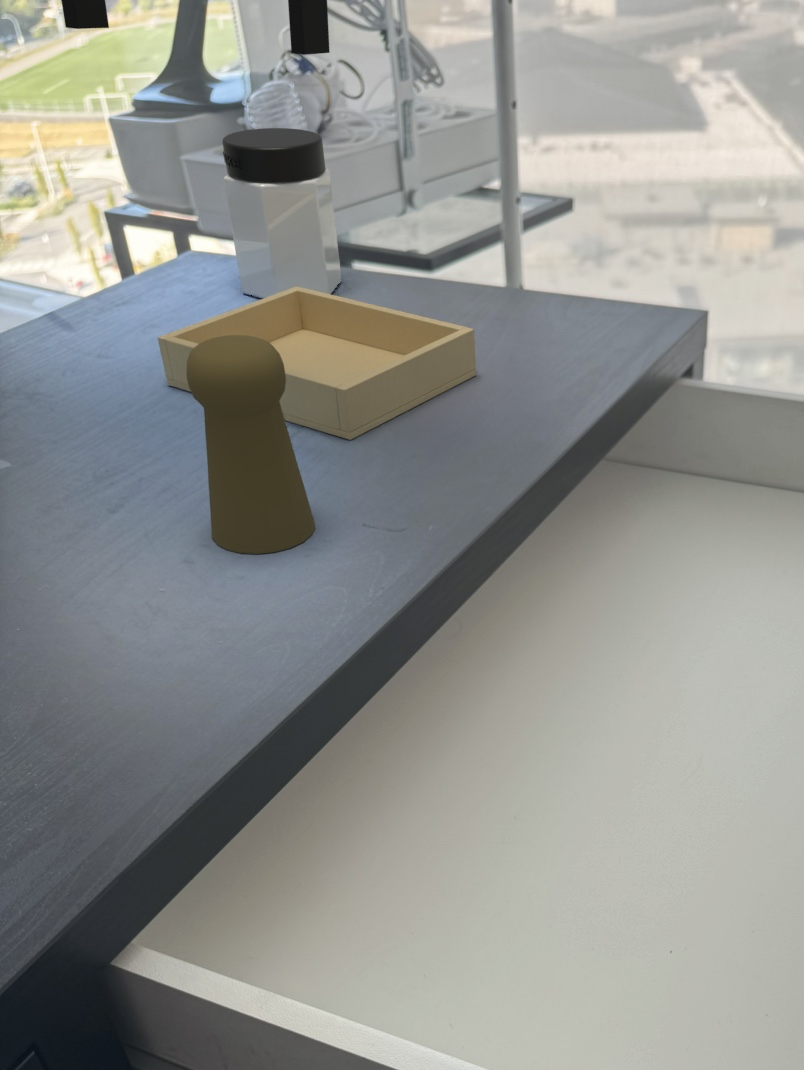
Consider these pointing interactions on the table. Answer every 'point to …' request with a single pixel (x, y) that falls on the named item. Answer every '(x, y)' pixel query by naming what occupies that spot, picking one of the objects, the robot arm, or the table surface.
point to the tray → (339, 357)
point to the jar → (281, 211)
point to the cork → (248, 446)
